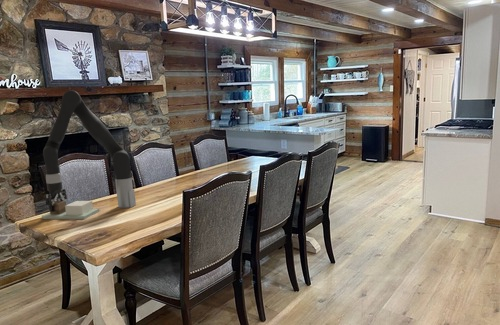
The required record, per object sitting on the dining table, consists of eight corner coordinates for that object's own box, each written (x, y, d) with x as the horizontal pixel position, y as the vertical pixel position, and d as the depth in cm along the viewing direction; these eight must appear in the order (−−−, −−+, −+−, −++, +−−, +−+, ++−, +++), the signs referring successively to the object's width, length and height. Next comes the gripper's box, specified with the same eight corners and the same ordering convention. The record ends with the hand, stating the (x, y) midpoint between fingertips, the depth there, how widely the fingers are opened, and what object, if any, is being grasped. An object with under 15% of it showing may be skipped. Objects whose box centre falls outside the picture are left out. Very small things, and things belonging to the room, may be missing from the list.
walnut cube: (66, 211, 216) (65, 201, 215) (59, 214, 210) (58, 204, 210) (57, 211, 217) (56, 201, 216) (50, 214, 212) (48, 204, 211)
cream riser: (93, 209, 218) (92, 200, 217) (82, 214, 208) (81, 205, 207) (77, 209, 219) (76, 200, 219) (66, 214, 210) (65, 205, 209)
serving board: (99, 211, 218) (98, 208, 218) (84, 219, 205) (84, 216, 204) (58, 211, 223) (58, 208, 223) (42, 218, 210) (41, 216, 209)
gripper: (51, 184, 203) (55, 213, 206) (68, 178, 217) (71, 206, 220) (38, 184, 205) (42, 213, 207) (56, 178, 219) (60, 206, 221)
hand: (57, 209), depth 214 cm, fingers open, 8 cm apart
